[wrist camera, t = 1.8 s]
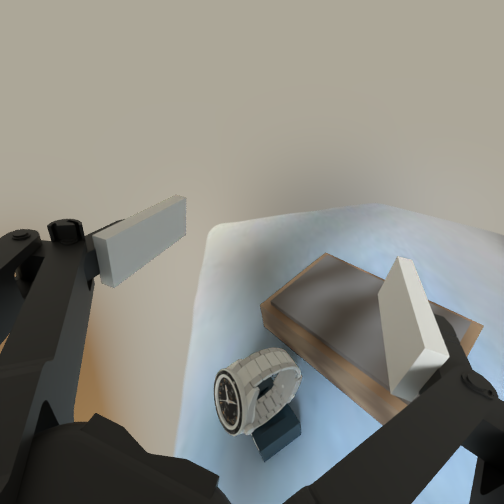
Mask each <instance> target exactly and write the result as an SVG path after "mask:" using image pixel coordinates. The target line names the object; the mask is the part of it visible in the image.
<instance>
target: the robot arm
mask: <svg viewBox="0 0 504 504" xmlns="http://www.w3.org/2000/svg"><path fill="white" fill-rule="evenodd" d="M47 227H48V231H49V234H50V238H51V241H43V240H41V239H40V236H39V233H38V232H37V231H35V230H30V229H28V230H27V229H20V230H15V231H13V232H10V233H8V234H6V235H4V236H3V237H1V238H0V344H1V343H2V342H3V341H4V340H5V338H6V337H7V336H8V335H9V336H8V338H7V341H6V343H5V345H4V347H3V349H2V351H1V354H0V504H231V503H230V501H229V500H228V498H227V497H226V496H225V494H224V493H223V492H222V491H221V490H220V489H219V488H218V487H217V486H218V481H219V476H218V475H216V474H214V473H212V472H210V471H208V470H207V469H205V468H203V467H201V466H199V465H197V464H195V463H193V462H191V461H189V460H187V459H182V458H175V457H168V456H162V455H154V454H150V453H147V452H146V451H145V450H144V449H143V448H142V447H141V446H140V445H139V444H138V442H137V441H136V440H135V439H134V438H133V437H132V436H131V435H130V434H129V433H128V431H127V430H126V429H125V428H124V427H123V426H120V425H119V424H117V423H115V422H113V421H111V420H109V419H107V418H105V417H103V416H101V415H99V414H97V413H95V414H94V415H93V417H92V418H91V419H90V420H89V421H88V422H74V417H73V416H74V404H75V397H76V392H77V386H78V380H79V374H80V368H81V362H82V356H83V350H84V344H85V338H86V332H87V327H88V321H89V315H90V309H91V303H92V297H93V290H94V285H95V283H94V277H95V276H97V275H99V274H100V278H101V282H102V284H105V285H107V286H110V287H113V288H115V287H116V286H118V285H119V284H120V283H122V282H123V281H124V280H126V279H127V278H128V277H130V276H131V275H132V274H134V273H135V272H136V271H138V270H139V269H140V268H142V267H143V266H144V265H146V264H147V263H148V262H150V261H151V260H152V259H154V258H155V257H156V256H158V255H159V254H160V253H162V252H163V251H165V250H166V249H167V248H169V247H170V246H171V245H173V244H174V243H175V242H177V241H178V240H179V239H181V238H182V237H183V236H185V235H186V197H182V196H178V195H175V196H172V197H170V198H168V199H167V200H164V201H162V202H160V203H158V204H156V205H154V206H152V207H150V208H148V209H145V210H143V211H141V212H140V213H137V214H135V215H133V216H131V217H129V218H127V219H123V220H119V221H116V222H114V223H112V224H110V225H107V226H105V227H103V228H101V229H99V230H97V231H95V232H92V233H90V234H88V235H86V236H84V231H83V227H82V222H80V221H78V220H75V219H62V220H57V221H54V222H51V223H50V224H49V225H47ZM15 273H16V275H17V276H16V277H14V274H15ZM378 300H379V308H380V316H381V323H382V331H383V339H384V346H385V354H386V362H387V369H388V377H389V385H390V392H391V394H392V395H395V396H397V397H400V398H402V399H405V400H408V401H410V402H411V403H410V404H409V405H408V406H406V407H405V408H404V409H403V410H402V411H400V412H399V413H398V414H397V415H395V416H394V417H393V418H392V419H391V420H389V421H388V422H387V423H386V424H385V425H383V426H382V427H381V428H380V429H378V430H377V431H376V432H375V433H374V434H372V435H371V436H370V437H369V438H367V439H366V440H365V441H364V442H363V443H361V444H360V445H359V446H358V447H357V448H355V449H354V450H353V451H352V452H350V453H349V454H348V455H347V456H346V457H344V458H343V459H342V460H341V461H340V462H338V463H337V464H336V465H335V466H333V467H332V468H331V469H330V470H329V471H327V472H326V473H325V474H324V475H323V476H321V477H320V478H319V479H318V480H316V481H315V482H314V483H313V484H311V485H309V486H305V487H303V488H302V489H300V490H299V491H298V492H296V493H295V494H294V495H293V496H291V497H290V498H289V499H288V500H286V501H285V502H284V503H283V504H411V503H412V502H413V501H414V500H415V499H416V497H417V496H418V495H419V494H420V493H421V492H422V490H423V489H424V488H425V487H426V486H427V484H428V483H429V482H430V481H431V480H432V479H433V477H434V476H435V475H436V474H437V473H438V471H439V470H440V469H441V468H442V467H443V466H444V464H445V463H446V462H447V461H448V460H449V459H450V457H451V456H452V455H453V454H454V453H455V451H456V450H457V449H458V448H459V447H460V446H463V447H464V448H466V449H467V450H469V451H470V452H472V453H473V454H475V455H476V456H478V458H477V464H476V469H475V475H474V480H473V486H472V491H471V497H470V502H469V504H504V401H502V400H500V399H499V398H498V395H497V392H496V390H495V389H494V387H493V386H492V385H491V383H490V382H489V381H487V380H486V379H485V378H484V377H483V376H482V375H480V374H478V373H477V372H475V371H474V370H472V367H471V365H470V363H469V361H468V359H467V357H466V354H465V352H464V350H463V348H462V346H461V345H460V344H461V343H460V341H459V339H458V337H457V335H456V332H455V330H454V328H453V326H452V325H451V324H450V323H449V322H448V321H447V320H446V318H445V317H443V316H440V315H437V314H434V313H433V312H432V309H431V307H430V304H429V302H428V299H427V297H426V294H425V291H424V289H423V286H422V284H421V281H420V279H419V276H418V273H417V271H416V268H415V266H414V263H413V261H412V260H410V259H406V258H402V257H399V256H397V258H396V260H395V262H394V264H393V266H392V268H391V270H390V272H389V273H388V275H387V277H386V279H385V281H384V283H383V285H382V287H381V289H380V291H379V293H378ZM9 333H10V334H9ZM418 394H419V395H420V396H419V397H417V398H416V399H415V400H414V401H413V399H414V398H415V397H416V396H417V395H418Z"/></svg>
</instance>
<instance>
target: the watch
mask: <svg viewBox="0 0 504 504" xmlns="http://www.w3.org/2000/svg"><path fill="white" fill-rule="evenodd" d="M250 359H251V360H250ZM255 361H256V362H255ZM260 369H261V370H260ZM278 372H279V373H278ZM276 373H278V375H277V377H276V378H275V380H274V381H273V380H272V378H271V377H270V376H272V374H273V375H274V374H276ZM261 377H262V378H261ZM301 380H302V375H301V371H300V369H299V368H298V366H297V365H296V364H295V362H294V361H293V360H292V358H291V357H290V356H289V354H288V353H287V352H286V351H285V350H284V349H281V348H268V349H263V350H260V351H259V352H256V353H253V354H251V355H250V356H249V357H246V358H245V359H243V360H242V359H238V360H237V361H235V362H234V363H232V364H231V365H230V366H228V367H227V368H224V369H221V370H220V371H219V372H218V373H217V375H216V378H215V383H214V400H215V406H216V411H217V414H218V417H219V420H220V422H221V424H222V426H223V428H224V429H225V431H226V432H228V434H230V435H232V436H234V437H235V436H237V435H239V434H243V433H245V435H250V434H251V436H252V438H253V440H254V442H255V444H256V446H257V448H258V450H259V452H260V454H261V456H262V458H263V460H264V462H265V461H267V460H268V459H269V458H271V457H272V456H273V455H275V454H276V453H277V452H279V451H280V450H281V449H283V448H284V447H285V446H287V445H288V444H289V443H290V442H292V441H293V440H294V439H296V438H297V437H298V436H300V435H301V429H300V422H299V420H298V419H297V417H296V416H295V414H294V413H293V411H292V409H291V408H290V406H289V405H288V403H290V401H291V400H292V399H293V398H294V396H295V393H296V392H297V390H298V387H299V385H300V383H301Z"/></svg>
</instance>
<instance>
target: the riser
mask: <svg viewBox="0 0 504 504" xmlns="http://www.w3.org/2000/svg"><path fill="white" fill-rule="evenodd" d="M384 281H385V280H384V279H382V278H380V277H377V276H375V275H373V274H371V273H369V272H367V271H364V270H362V269H360V268H358V267H356V266H354V265H351V264H349V263H347V262H345V261H343V260H341V259H338V258H336V257H334V256H332V255H330V254H328V253H324V254H323V255H322V256H321V257H319V258H318V259H317V260H316V261H314V262H313V263H312V264H311V265H309V266H308V267H307V268H306V269H304V270H303V271H302V272H301V273H299V274H298V275H297V276H296V277H294V278H293V279H292V280H291V281H289V282H288V283H287V284H286V285H284V286H283V287H282V288H281V289H279V290H278V291H277V292H276V293H274V294H273V295H272V296H271V297H269V298H268V299H267V300H266V301H264V302H263V303H262V304H261V305H260V307H261V312H262V318H263V323H264V327H266V328H267V329H268V330H269V331H270V332H272V333H273V334H274V335H275V336H276V337H278V338H279V339H280V340H281V341H282V342H284V343H285V344H286V345H287V346H288V347H290V348H291V349H292V350H293V351H294V352H296V353H297V354H298V355H299V356H300V357H302V358H303V359H304V360H305V361H306V362H308V363H309V364H310V365H311V366H312V367H314V368H315V369H316V370H317V371H318V372H320V373H321V374H322V375H323V376H324V377H326V378H327V379H328V380H329V381H330V382H331V383H333V384H334V385H335V386H336V387H337V388H339V389H340V390H341V391H342V392H343V393H345V394H346V395H347V396H348V397H349V398H351V399H352V400H353V401H354V402H355V403H357V404H358V405H359V406H360V407H361V408H363V409H364V410H365V411H366V412H367V413H369V414H370V415H371V416H372V417H373V418H375V419H376V420H377V421H378V422H379V423H381V424H382V425H385V424H386V423H387V422H388V421H389V420H391V419H392V418H393V417H394V416H395V415H397V414H398V413H399V412H400V411H402V410H403V409H404V408H405V407H406V406H408V405H409V404H410V403H411V402H410V401H408V400H405V399H402V398H400V397H397V396H395V395H392V394H391V392H390V385H389V377H388V369H387V362H386V354H385V346H384V339H383V331H382V323H381V316H380V308H379V300H378V293H379V291H380V289H381V287H382V285H383V283H384ZM428 302H429V304H430V307H431V309H432V312H433V313H434V314H437V315H440V316H443V317H445V318H446V320H447V321H448V322H449V323H450V324H451V325H452V326H453V328H454V330H455V332H456V335H457V337H458V339H459V341H460V343H461V344H460V345H461V346H462V348H463V350H464V352H465V354H466V357H467V356H468V354H469V352H470V350H471V349H472V347H473V345H474V343H475V341H476V339H477V338H478V336H479V334H480V332H481V330H482V328H483V327H484V326H483V325H481V324H479V323H477V322H475V321H472V320H470V319H468V318H466V317H464V316H462V315H460V314H457V313H455V312H453V311H451V310H449V309H447V308H444V307H442V306H440V305H438V304H436V303H434V302H431V301H429V300H428ZM419 396H420V395H419V394H418V395H417V396H416V397H415V398H414V399H413V401H414V400H415V399H416V398H417V397H419Z"/></svg>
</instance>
